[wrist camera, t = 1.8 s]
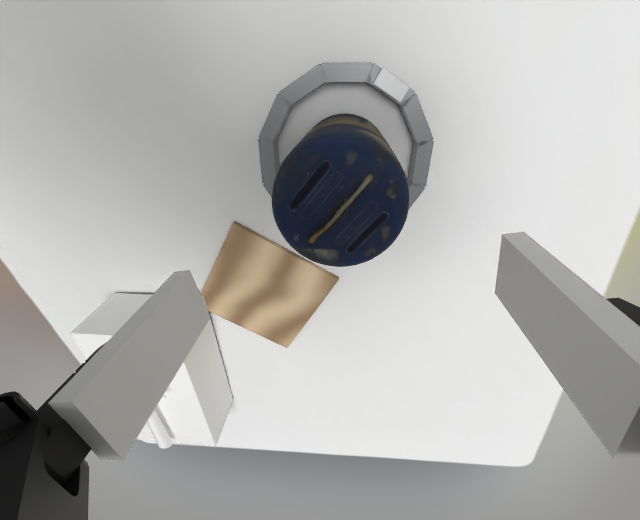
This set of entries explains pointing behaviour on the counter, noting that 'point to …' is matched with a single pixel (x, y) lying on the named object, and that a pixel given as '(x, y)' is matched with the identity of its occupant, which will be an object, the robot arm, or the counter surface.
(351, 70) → the collar
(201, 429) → the tissue box
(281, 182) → the canister
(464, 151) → the counter surface
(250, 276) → the mat
